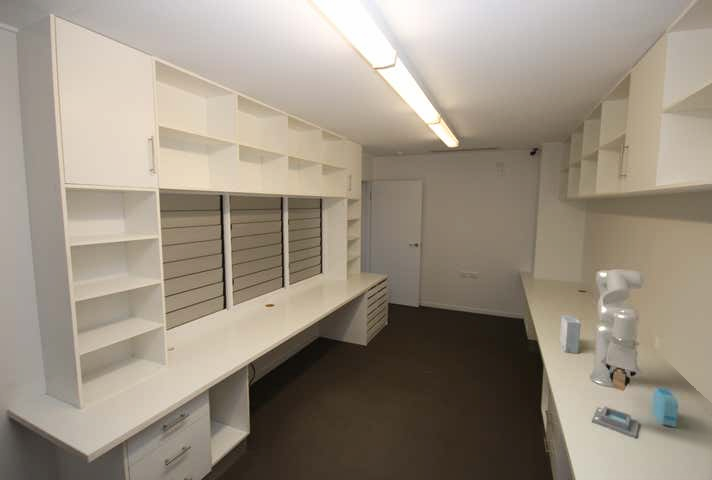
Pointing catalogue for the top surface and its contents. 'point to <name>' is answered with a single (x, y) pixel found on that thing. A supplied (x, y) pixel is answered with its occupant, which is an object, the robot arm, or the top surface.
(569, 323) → the hard drive box
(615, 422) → the frame
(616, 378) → the wooden block with knob
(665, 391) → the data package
